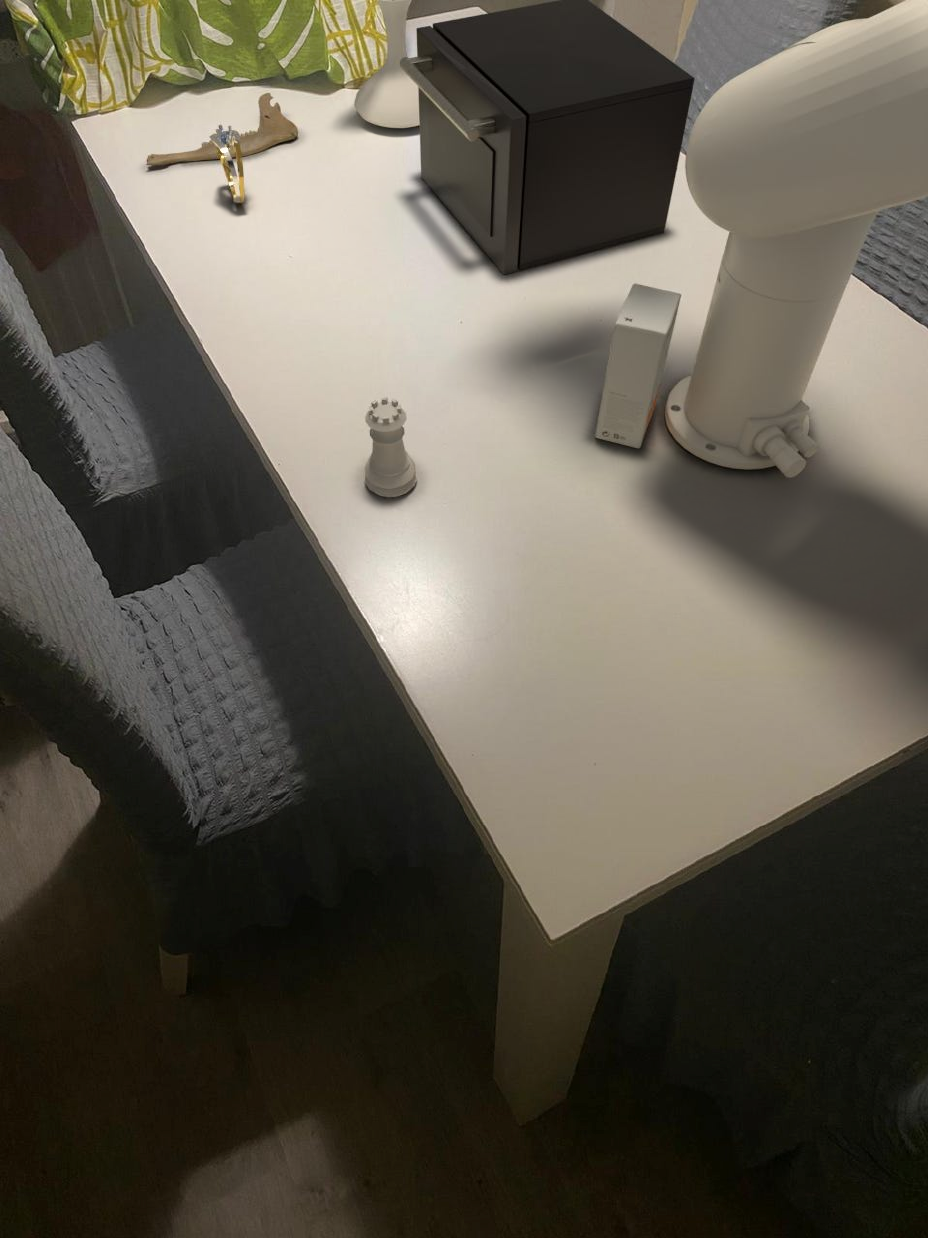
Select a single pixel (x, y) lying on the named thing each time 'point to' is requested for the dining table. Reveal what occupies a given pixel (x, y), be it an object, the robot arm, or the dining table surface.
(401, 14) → the flower in vase
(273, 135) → the jawbone
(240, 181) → the ring
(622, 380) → the cosmetic box
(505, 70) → the oven
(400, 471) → the rook chess piece
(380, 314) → the dining table surface
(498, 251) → the oven door
